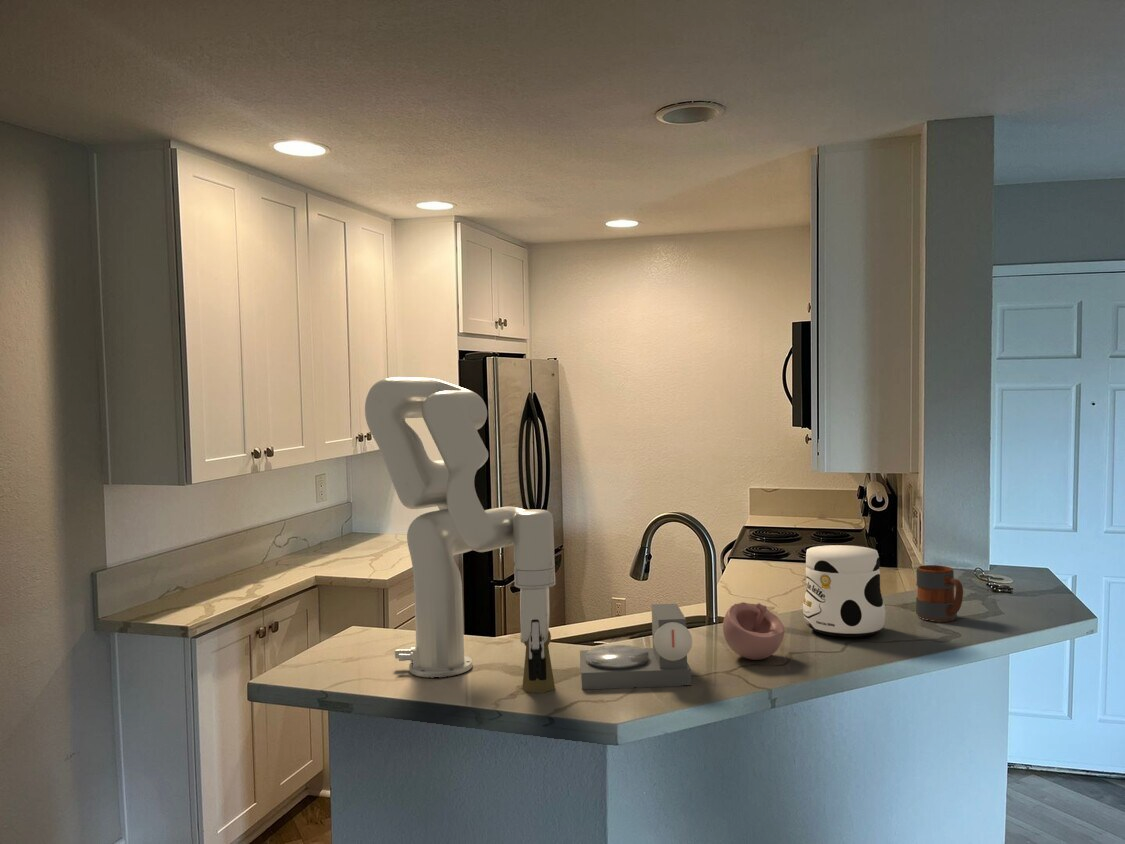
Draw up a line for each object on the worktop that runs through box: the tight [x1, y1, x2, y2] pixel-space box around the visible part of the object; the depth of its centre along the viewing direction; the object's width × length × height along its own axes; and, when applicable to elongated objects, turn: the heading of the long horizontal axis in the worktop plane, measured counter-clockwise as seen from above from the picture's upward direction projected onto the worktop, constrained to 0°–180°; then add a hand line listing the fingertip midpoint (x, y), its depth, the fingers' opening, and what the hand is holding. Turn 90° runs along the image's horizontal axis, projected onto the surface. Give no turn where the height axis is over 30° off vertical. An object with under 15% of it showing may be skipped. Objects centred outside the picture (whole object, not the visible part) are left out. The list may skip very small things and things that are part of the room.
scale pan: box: [586, 644, 649, 669], centre depth 155 cm, size 12×12×1 cm
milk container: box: [802, 544, 887, 638], centre depth 180 cm, size 17×17×18 cm
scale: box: [579, 603, 693, 690], centre depth 155 cm, size 20×14×12 cm
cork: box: [521, 629, 556, 694], centre depth 150 cm, size 6×6×11 cm
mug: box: [915, 564, 964, 622], centre depth 187 cm, size 9×12×12 cm
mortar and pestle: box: [722, 601, 786, 661], centre depth 163 cm, size 12×12×11 cm
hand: (538, 674), depth 150 cm, fingers closed on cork, 4 cm apart
